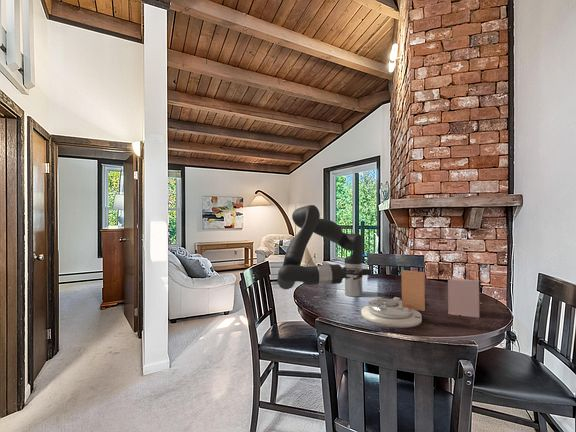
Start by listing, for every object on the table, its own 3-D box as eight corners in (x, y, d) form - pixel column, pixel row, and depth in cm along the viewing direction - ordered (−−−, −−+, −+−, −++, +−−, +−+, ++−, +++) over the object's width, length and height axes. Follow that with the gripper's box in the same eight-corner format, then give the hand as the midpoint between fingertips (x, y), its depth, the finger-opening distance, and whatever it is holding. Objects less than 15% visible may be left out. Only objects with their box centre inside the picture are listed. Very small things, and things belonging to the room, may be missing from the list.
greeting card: (480, 317, 124) (479, 281, 124) (471, 320, 120) (470, 283, 120) (453, 310, 134) (452, 276, 134) (443, 313, 130) (443, 278, 130)
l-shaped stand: (361, 313, 124) (360, 269, 124) (378, 302, 138) (377, 264, 138) (418, 324, 110) (417, 276, 110) (430, 312, 124) (429, 269, 124)
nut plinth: (376, 305, 142) (376, 300, 142) (429, 315, 126) (429, 310, 126) (350, 318, 124) (350, 313, 124) (409, 332, 108) (409, 326, 108)
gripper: (333, 268, 109) (377, 265, 112) (323, 262, 122) (363, 259, 125) (333, 288, 109) (378, 285, 112) (324, 280, 123) (363, 277, 125)
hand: (370, 271), depth 119 cm, fingers closed
